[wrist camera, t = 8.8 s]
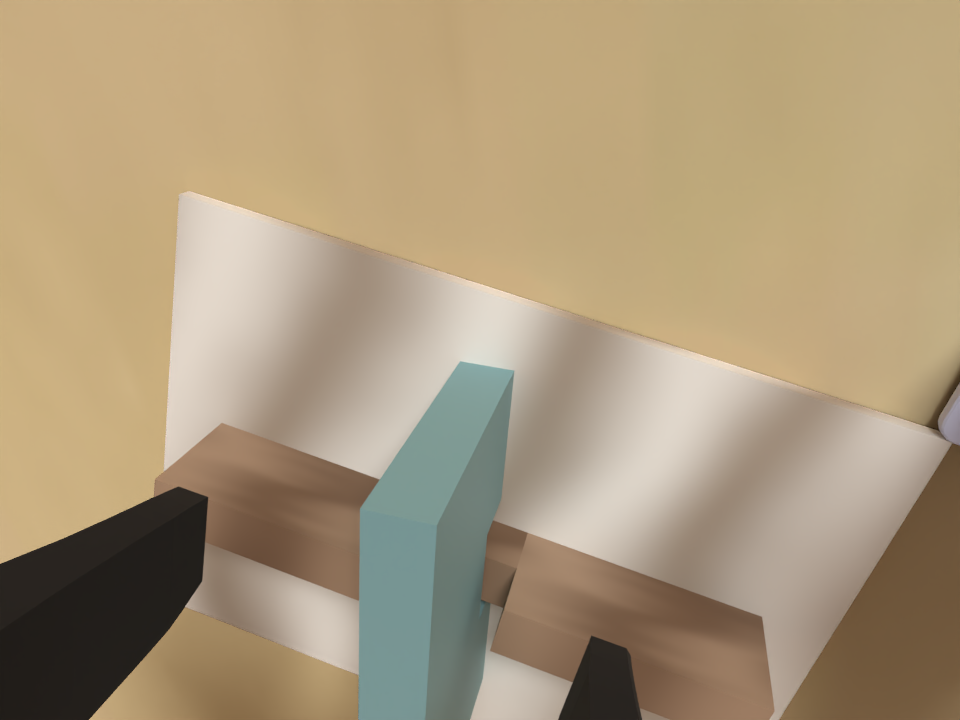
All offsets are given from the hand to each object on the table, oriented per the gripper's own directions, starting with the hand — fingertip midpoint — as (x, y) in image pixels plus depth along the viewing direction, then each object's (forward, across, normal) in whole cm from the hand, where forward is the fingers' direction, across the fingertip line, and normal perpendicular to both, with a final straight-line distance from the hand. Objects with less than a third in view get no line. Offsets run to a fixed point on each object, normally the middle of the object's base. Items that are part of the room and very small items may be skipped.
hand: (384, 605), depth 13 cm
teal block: (+9, 0, +6) cm, 11 cm away
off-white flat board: (+10, 0, +6) cm, 11 cm away
